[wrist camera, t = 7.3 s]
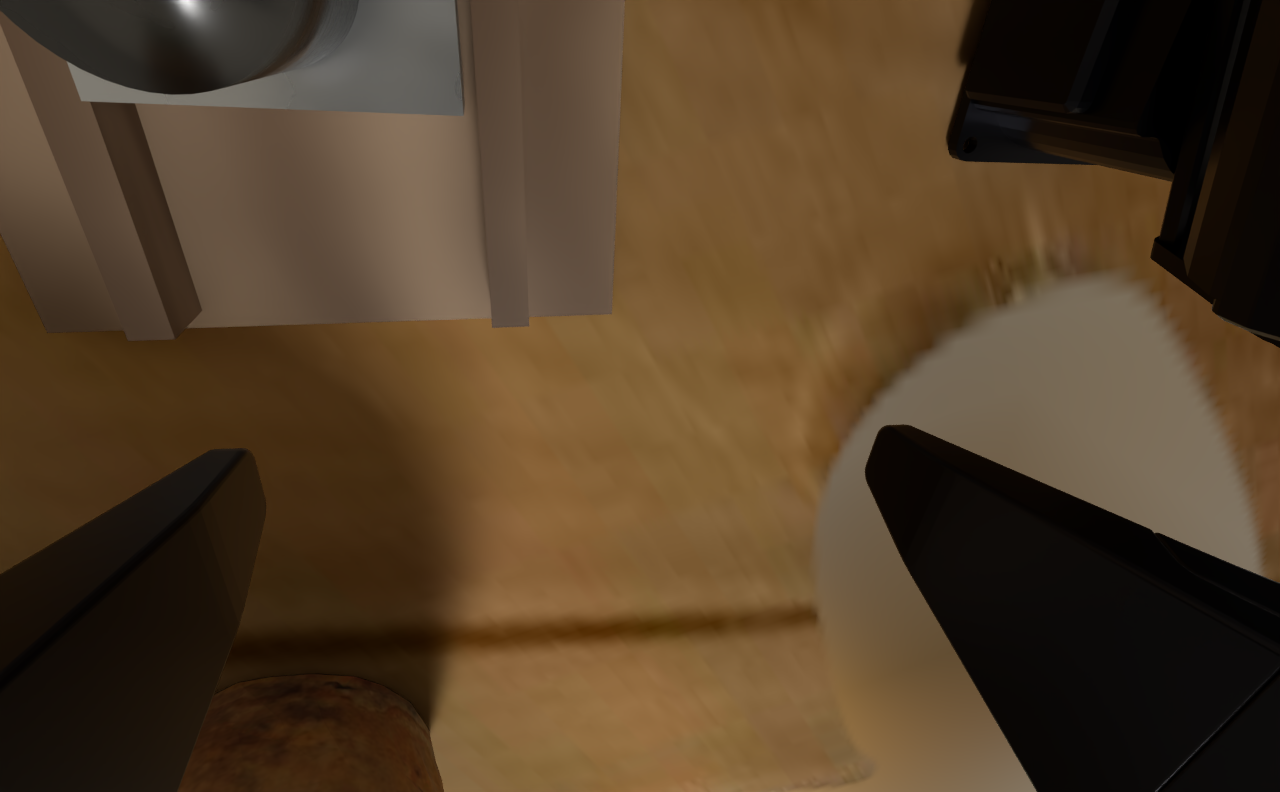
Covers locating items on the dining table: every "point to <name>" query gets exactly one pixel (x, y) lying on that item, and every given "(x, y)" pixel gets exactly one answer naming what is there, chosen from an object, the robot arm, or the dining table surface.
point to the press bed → (324, 192)
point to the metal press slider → (257, 52)
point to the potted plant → (311, 739)
